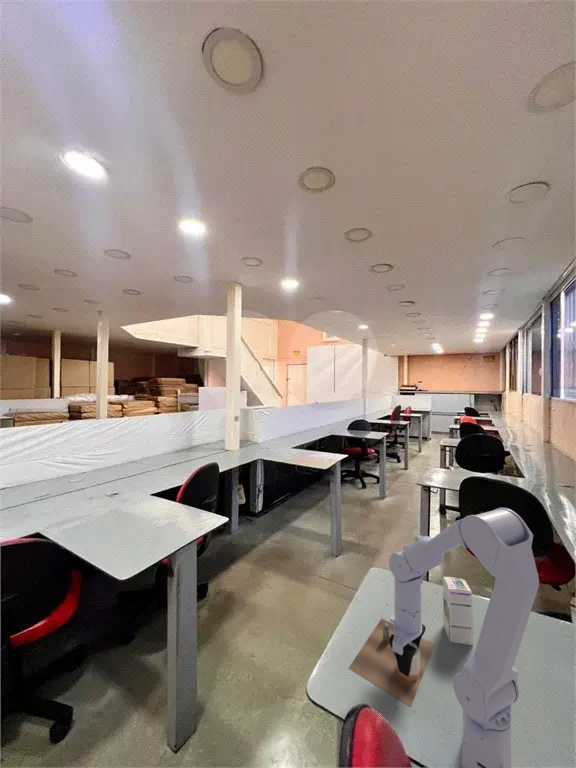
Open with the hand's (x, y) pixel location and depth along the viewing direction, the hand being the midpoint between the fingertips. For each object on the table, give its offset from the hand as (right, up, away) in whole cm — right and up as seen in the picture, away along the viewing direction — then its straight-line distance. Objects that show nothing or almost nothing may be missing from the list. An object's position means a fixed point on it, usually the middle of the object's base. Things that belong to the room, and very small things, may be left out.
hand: (407, 664), depth 71 cm
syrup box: (+17, -3, +10) cm, 20 cm away
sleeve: (0, -1, 0) cm, 1 cm away
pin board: (-2, -3, +4) cm, 5 cm away
